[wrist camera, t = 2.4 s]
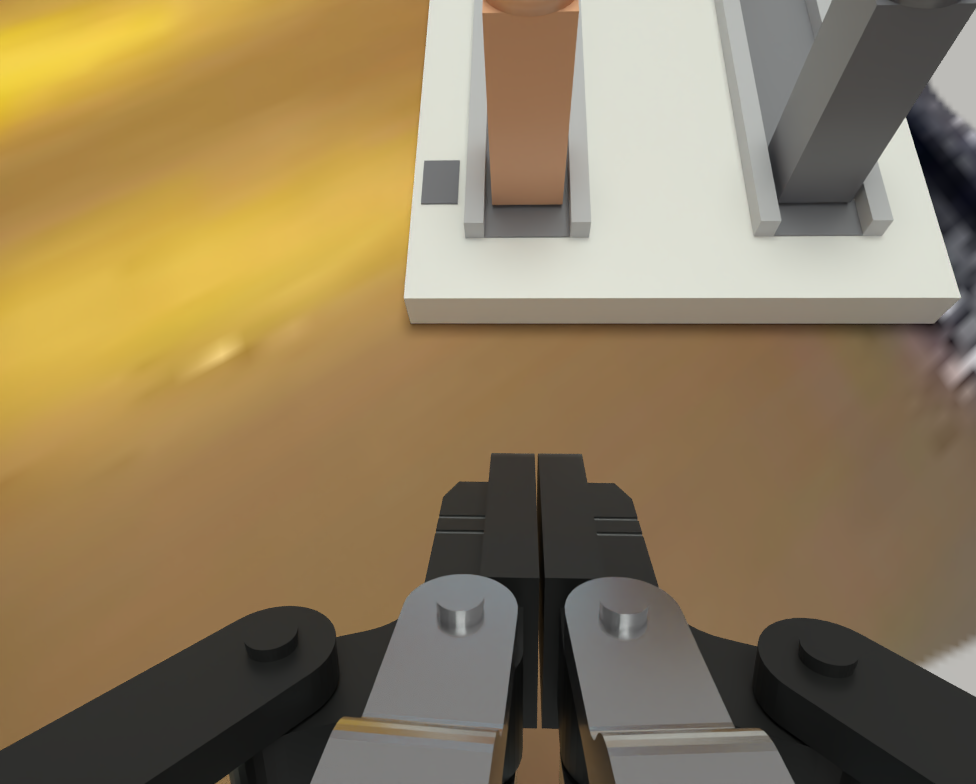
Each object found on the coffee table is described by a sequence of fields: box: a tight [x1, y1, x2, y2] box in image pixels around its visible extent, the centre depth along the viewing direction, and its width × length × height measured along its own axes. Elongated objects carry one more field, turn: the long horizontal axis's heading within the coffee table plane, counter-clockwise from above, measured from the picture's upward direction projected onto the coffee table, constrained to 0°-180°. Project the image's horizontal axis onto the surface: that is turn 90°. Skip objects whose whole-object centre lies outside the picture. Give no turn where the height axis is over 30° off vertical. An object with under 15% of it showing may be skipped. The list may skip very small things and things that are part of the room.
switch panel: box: [404, 0, 961, 324], centre depth 33 cm, size 22×22×3 cm
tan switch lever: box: [482, 0, 579, 205], centre depth 26 cm, size 3×3×10 cm
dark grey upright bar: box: [768, 0, 976, 203], centre depth 26 cm, size 3×3×10 cm
